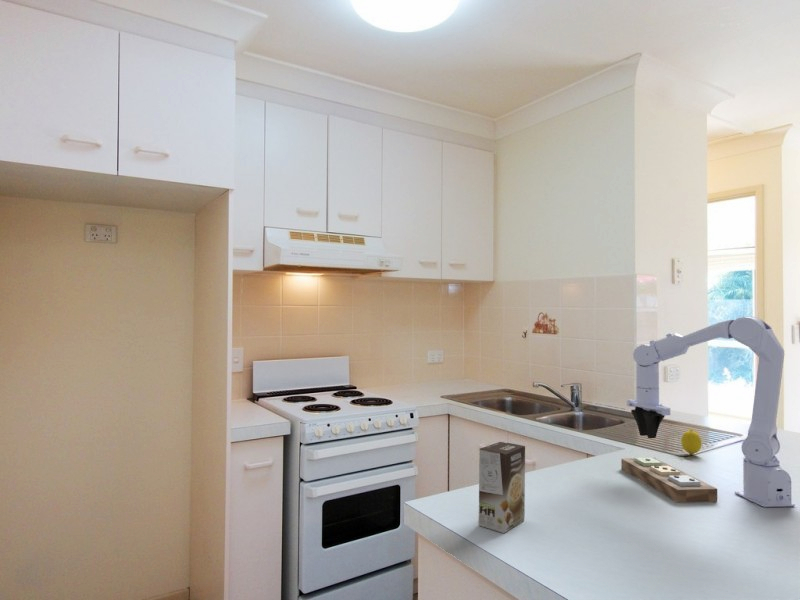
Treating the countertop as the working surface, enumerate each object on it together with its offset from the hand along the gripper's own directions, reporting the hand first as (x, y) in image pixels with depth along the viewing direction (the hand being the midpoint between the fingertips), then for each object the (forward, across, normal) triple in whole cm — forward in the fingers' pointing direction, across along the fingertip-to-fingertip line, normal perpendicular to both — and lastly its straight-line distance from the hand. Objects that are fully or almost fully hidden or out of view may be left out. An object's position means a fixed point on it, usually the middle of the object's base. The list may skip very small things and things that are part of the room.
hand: (647, 436), depth 144 cm
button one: (+9, 0, 0) cm, 9 cm away
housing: (+10, -8, +1) cm, 13 cm away
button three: (+9, -8, +1) cm, 12 cm away
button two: (+9, -16, +3) cm, 18 cm away
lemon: (+11, +13, -28) cm, 33 cm away
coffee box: (+11, -20, +55) cm, 59 cm away
